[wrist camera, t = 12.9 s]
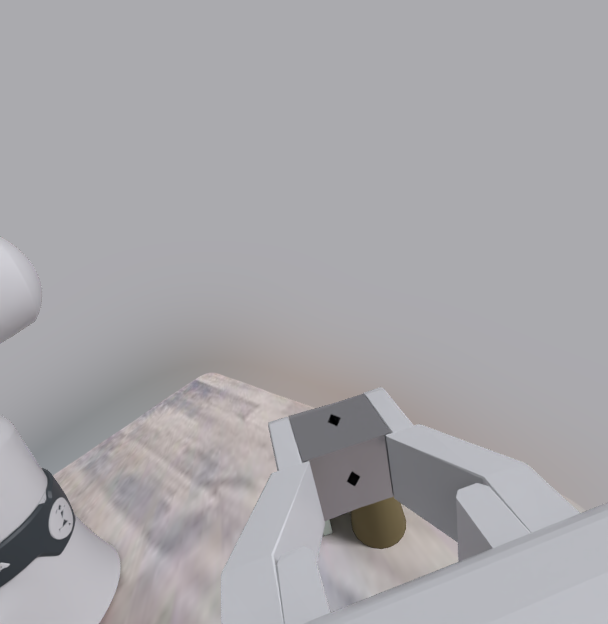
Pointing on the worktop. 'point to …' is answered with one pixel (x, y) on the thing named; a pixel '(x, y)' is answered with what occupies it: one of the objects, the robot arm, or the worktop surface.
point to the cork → (379, 523)
